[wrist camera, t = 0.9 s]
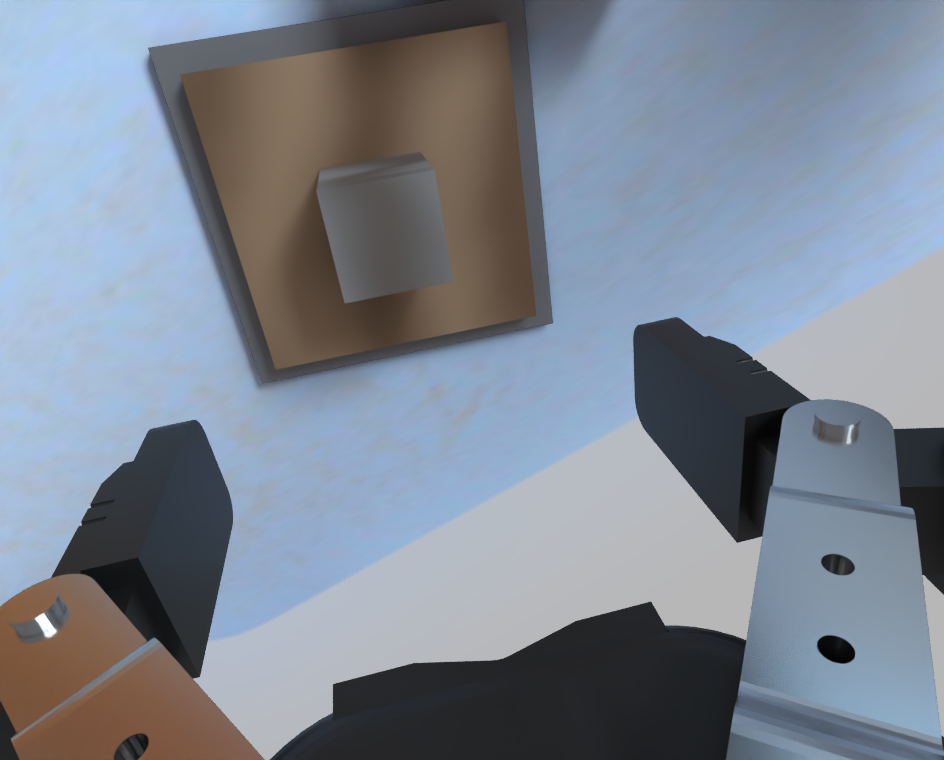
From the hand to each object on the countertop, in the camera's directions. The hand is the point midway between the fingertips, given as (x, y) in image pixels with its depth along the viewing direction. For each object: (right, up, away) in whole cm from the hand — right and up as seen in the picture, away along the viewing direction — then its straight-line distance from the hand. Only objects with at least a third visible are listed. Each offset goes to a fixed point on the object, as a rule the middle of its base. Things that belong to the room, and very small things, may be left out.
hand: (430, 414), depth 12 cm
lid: (-3, +8, +15) cm, 18 cm away
